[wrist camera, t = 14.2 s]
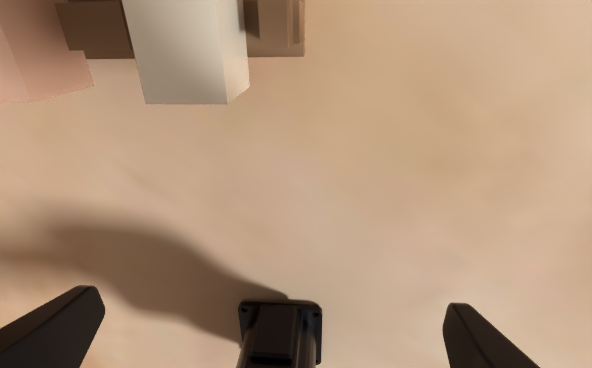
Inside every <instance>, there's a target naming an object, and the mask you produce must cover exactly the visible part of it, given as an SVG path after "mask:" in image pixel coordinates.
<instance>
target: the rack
mask: <svg viewBox="0 0 592 368" xmlns="http://www.w3.org/2000/svg"><path fill="white" fill-rule="evenodd" d="M68 2H69V3H54V4H55V8H56V11H57V14H58V17H59V20H60V23H61V27H62V30H63V33H64V36H65V39H66V42H67V46H68V49H69V51H84V54H85V58H86V59H134V58H135V55H134V50H133V46H132V42H131V37H130V33H129V29H128V24H127V20H126V16H125V12H124V7H123V3H122V0H68ZM243 10H244V22H245V34H246V46H247V57H304V55H305V27H304V0H243Z"/></svg>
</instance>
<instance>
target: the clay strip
mask: <svg viewBox="0 0 592 368" xmlns="http://www.w3.org/2000/svg"><path fill="white" fill-rule="evenodd" d="M54 3H69V2H68V0H0V103H6V102H35V101H39V100H42V99H46V98H50V97H53V96H57V95H61V94H64V93H68V92H72V91H76V90H79V89H83V88H87V87H90V86H94V84H93V80H92V77H91V74H90V71H89V67H88V64H87V61H86V58H85V54H84V51H69V49H68V46H67V42H66V39H65V36H64V33H63V30H62V27H61V23H60V20H59V17H58V14H57V11H56V8H55V4H54Z"/></svg>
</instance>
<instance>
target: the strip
mask: <svg viewBox="0 0 592 368" xmlns="http://www.w3.org/2000/svg"><path fill="white" fill-rule="evenodd" d="M122 3H123V7H124V12H125V16H126V20H127V24H128V29H129V33H130V37H131V42H132V46H133V50H134V55H135V59H136V63H137V68H138V72H139V76H140V81H141V85H142V89H143V94H144V98H145V102H146V104H229V103H230V102H231V101H232V100H234V99H235V98H236V97H237V96H238V95H240V94H241V93H242V92H243V91H245V90H246V89H247V88H248V87H250V83H249V71H248V59H247V46H246V34H245V22H244V10H243V0H122Z"/></svg>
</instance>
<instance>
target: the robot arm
mask: <svg viewBox="0 0 592 368" xmlns="http://www.w3.org/2000/svg"><path fill="white" fill-rule="evenodd" d="M245 308H246V309H245ZM314 312H316V313H314ZM238 313H239V320H240V327H241V334H242V342H243V344H242V348H241V352H240V355H239V359H238V363H237V366H236V368H315V365H318V364H320V363H321V342H322V309H321V308H320V307H319V306H310V305H293V304H276V303H259V302H241V303H240V304H239V307H238ZM104 315H105V306H104V304H103V301H102V299H101V296H100V294H99V292H98V289H97V288H96V287H95V286H88V285H79V286H76V287H74V288H73V289H71V290H69V291H67V292H65V293H64V294H62V295H60V296H58V297H56V298H55V299H53V300H51V301H49V302H47V303H46V304H44V305H42V306H40V307H38V308H37V309H35V310H33V311H31V312H29V313H28V314H26V315H24V316H22V317H20V318H19V319H17V320H15V321H13V322H11V323H9V324H8V325H6V326H4V327H2V328H0V368H79V367H80V365H81V363H82V361H83V359H84V357H85V355H86V353H87V351H88V349H89V347H90V345H91V343H92V341H93V339H94V337H95V334H96V332H97V330H98V328H99V326H100V324H101V322H102V320H103V318H104ZM443 338H444V342H445V346H446V351H447V355H448V359H449V364H450V368H540V367H539V366H538V365H537V364H535V363H534V362H533V361H532V360H531V359H530V358H529V357H528V356H527V355H525V354H524V353H523V352H522V351H521V350H520V349H519V348H518V347H516V346H515V345H514V344H513V343H512V342H511V341H510V340H509V339H507V338H506V337H505V336H504V335H503V334H502V333H501V332H500V331H498V330H497V329H496V328H495V327H494V326H493V325H492V324H491V323H490V322H488V321H487V320H486V319H485V318H484V317H483V316H482V315H481V314H479V313H478V312H477V311H476V310H475V309H474V308H473V307H472V306H470V305H469V304H466V303H450V304H449V305H448V307H447V311H446V315H445V319H444V323H443Z"/></svg>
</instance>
